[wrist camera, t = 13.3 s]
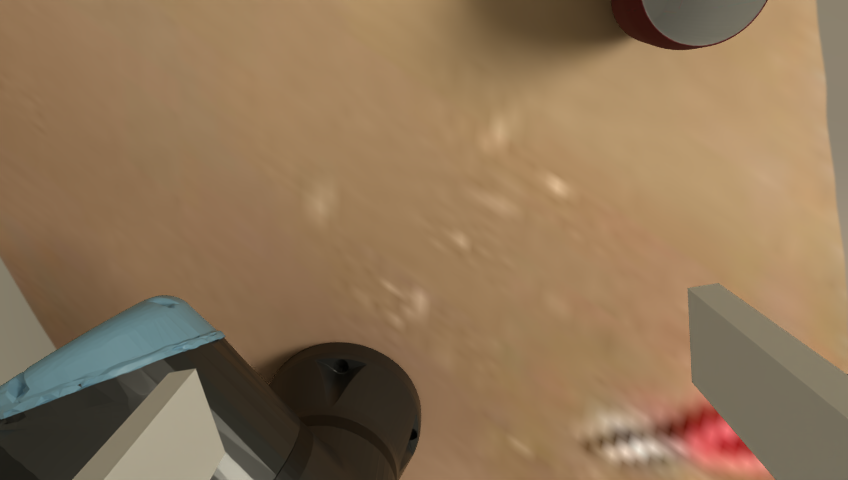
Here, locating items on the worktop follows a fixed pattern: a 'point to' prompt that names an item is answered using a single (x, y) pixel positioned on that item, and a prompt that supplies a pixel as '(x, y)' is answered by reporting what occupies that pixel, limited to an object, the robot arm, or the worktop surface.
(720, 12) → the mug
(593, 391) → the worktop surface
